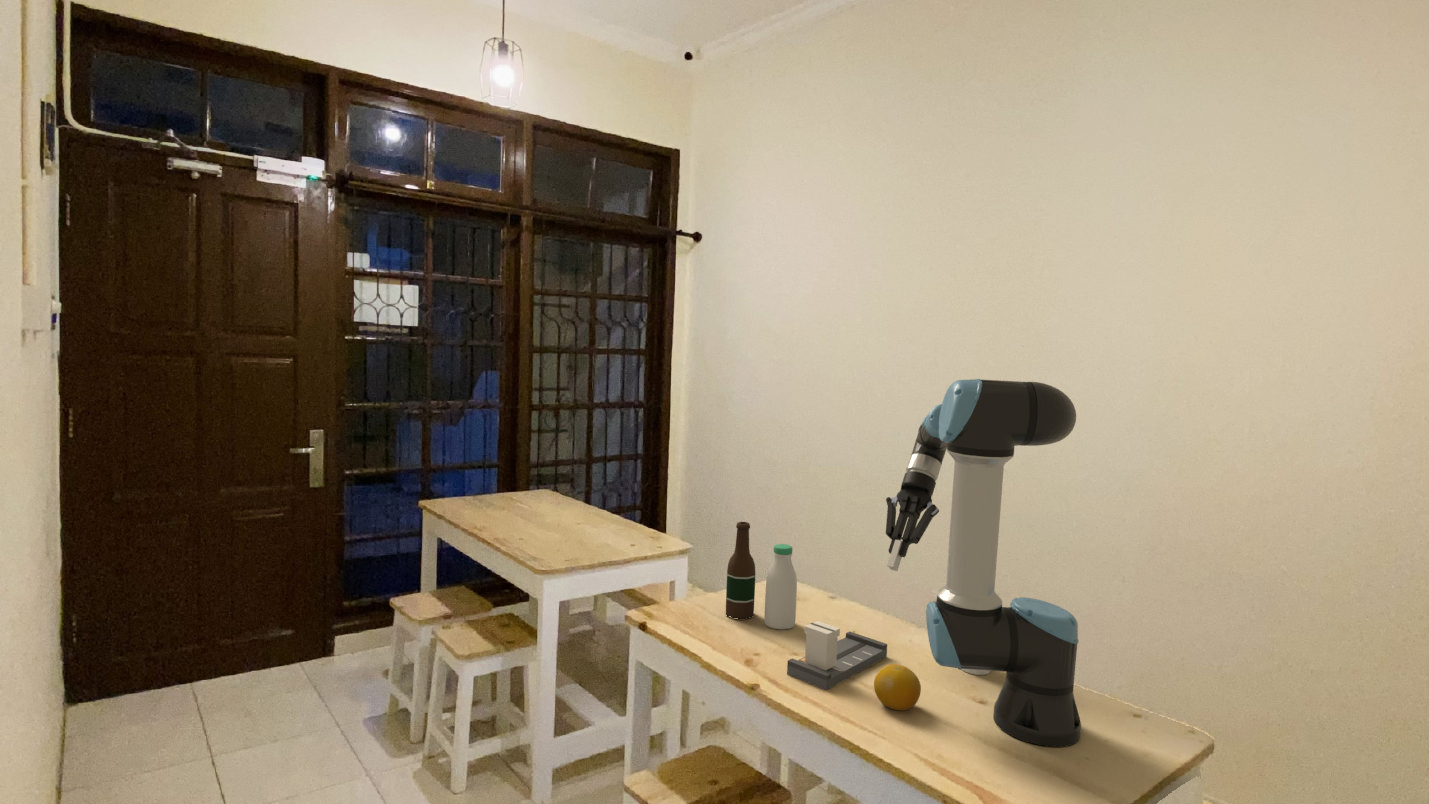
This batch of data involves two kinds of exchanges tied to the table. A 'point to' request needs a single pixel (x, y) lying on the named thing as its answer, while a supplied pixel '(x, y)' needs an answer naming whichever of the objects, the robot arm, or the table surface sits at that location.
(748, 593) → the beer bottle
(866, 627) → the table surface
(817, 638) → the fader knob
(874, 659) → the slider console
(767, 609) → the milk bottle
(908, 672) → the fruit
